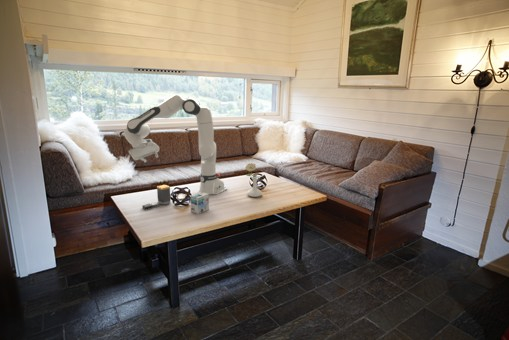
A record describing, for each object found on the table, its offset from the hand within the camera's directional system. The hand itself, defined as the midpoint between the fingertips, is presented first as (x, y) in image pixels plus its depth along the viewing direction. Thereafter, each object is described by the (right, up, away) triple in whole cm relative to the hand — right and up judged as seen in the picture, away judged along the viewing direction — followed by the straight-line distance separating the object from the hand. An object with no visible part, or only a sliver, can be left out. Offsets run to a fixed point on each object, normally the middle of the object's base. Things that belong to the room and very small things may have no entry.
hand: (151, 159), depth 212 cm
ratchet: (+7, -31, -9) cm, 33 cm away
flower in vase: (+71, -27, +15) cm, 77 cm away
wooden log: (+10, -28, -5) cm, 31 cm away
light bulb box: (+36, -34, -15) cm, 52 cm away
